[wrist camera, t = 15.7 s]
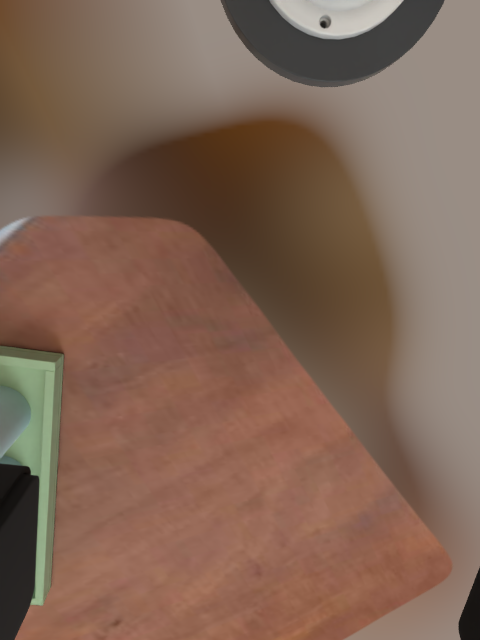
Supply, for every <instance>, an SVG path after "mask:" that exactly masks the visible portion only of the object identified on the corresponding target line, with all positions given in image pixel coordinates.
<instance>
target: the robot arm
mask: <svg viewBox="0 0 480 640" xmlns="http://www.w3.org/2000/svg"><path fill="white" fill-rule="evenodd" d="M269 1H270V3H271V4H272V5H273V7H274V8H275V9H276V10H277V11H278V13H279V14H280V15H281V16H282V17H283V18H284V19H285V20H286V21H287V22H289V23H290V24H291V25H292V26H294V27H295V28H297V29H299V30H301V31H302V32H304V33H306V34H308V35H311V36H315V37H319V38H322V39H338V40H340V39H345V38H351V37H355V36H358V35H360V34H363V33H365V32H368V31H370V30H371V29H373V28H374V27H376V26H377V25H379V24H380V23H382V22H383V21H384V20H385V19H386V18H387V17H388V16H390V15H391V14H392V13H393V12H394V11H395V10H396V9H397V7H398V6H399V5H400V4H401V3H402V2H403V0H269ZM321 23H324V24H325V26H326V28H325V29H324V28H322V27H321V26H320V24H321ZM38 503H39V476H37V475H31V470H30V467H28V466H21V465H11V464H2V463H0V640H14V639H15V637H16V635H17V633H18V631H19V628H20V626H21V624H22V622H23V620H24V618H25V616H26V613H27V611H28V609H29V606H30V604H31V601H32V597H33V593H34V588H35V570H36V548H37V525H38ZM459 634H460V638H461V640H480V568H479V571H478V573H477V576H476V578H475V581H474V584H473V586H472V589H471V591H470V594H469V597H468V600H467V602H466V604H465V607H464V610H463V612H462V615H461V617H460V620H459Z"/></svg>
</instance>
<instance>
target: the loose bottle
mask: <svg viewBox="0 0 480 640" xmlns="http://www.w3.org/2000/svg"><path fill="white" fill-rule="evenodd" d="M30 419H31V409H30V406H29V404H28V402H27V400H26V399H25V398H24V396H23V395H22V394H20V393H19V392H18V391H16V390H14V389H12V388H10V387H6V386H0V458H1V457H2V456H3V455H4V454H5V453H6V451H7V450H8V449H9V448H10V447H11V445H12V444H13V443H14V442H15V441H16V439H17V438H18V437H19V436H20V435H21V434H22V432H23V431H24V430H25V429H26V428H27V426H28V425H29V422H30Z"/></svg>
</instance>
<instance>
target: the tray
mask: <svg viewBox="0 0 480 640" xmlns="http://www.w3.org/2000/svg"><path fill="white" fill-rule="evenodd" d="M63 362H64V354H60V353H53V352H45V351H37V350H30V349H22V348H15V347H7V346H0V386H6V387H10V388H12V389H14V390H16V391H18V392H19V393H20V394H22V395H23V396H24V398H25V399H26V400H27V402H28V404H29V406H30V409H31V419H30V422H29V425H28V426H27V428H26V429H25V430H24V431H23V432H22V434H21V435H20V436H19V437H18V438H17V439H16V441H15V442H14V443H13V444H12V445H11V447H10V448H9V449H8V450H7V451H6V453H5V454H4V455H3V456H8V457H11V458H13V459H15V460H16V461H18V462H19V463H20V464H21V465H22V466H28V467H30V470H31V475H37V476H39V503H38V525H37V548H36V570H35V588H34V593H33V597H32V601H31V604H30V605H43V604H44V601H45V599H46V597H47V594H48V592H49V590H50V587H51V573H52V555H53V538H54V520H55V502H56V485H57V467H58V450H59V432H60V414H61V397H62V379H63Z"/></svg>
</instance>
